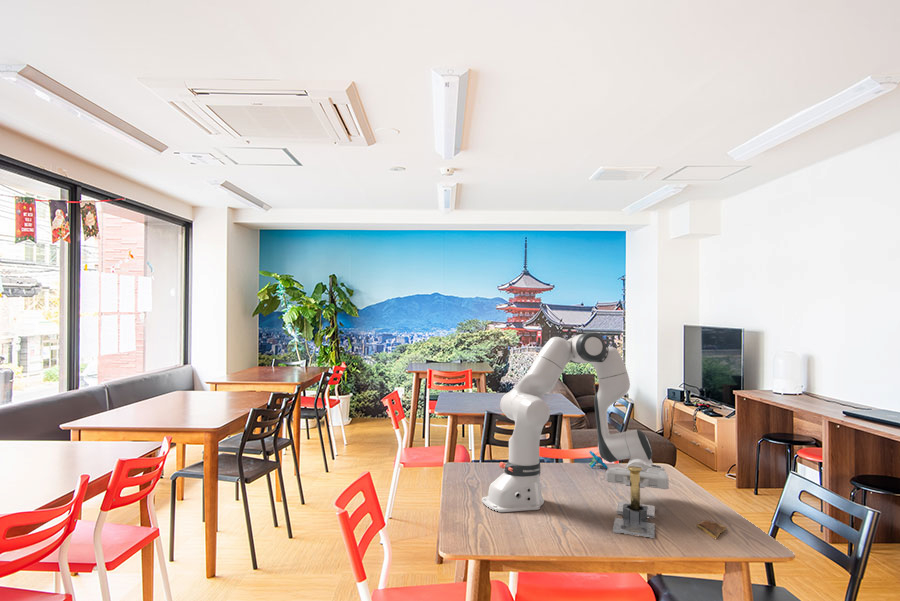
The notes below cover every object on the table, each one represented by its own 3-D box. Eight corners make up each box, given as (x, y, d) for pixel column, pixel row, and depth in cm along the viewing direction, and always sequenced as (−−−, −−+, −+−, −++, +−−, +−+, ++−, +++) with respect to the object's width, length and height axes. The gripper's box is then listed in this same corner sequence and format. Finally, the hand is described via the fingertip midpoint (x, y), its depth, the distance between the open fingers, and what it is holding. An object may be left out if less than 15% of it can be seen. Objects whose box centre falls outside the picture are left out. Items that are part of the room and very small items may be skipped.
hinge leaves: (654, 538, 152) (654, 525, 152) (612, 532, 156) (612, 519, 157) (654, 508, 177) (654, 497, 177) (618, 504, 181) (618, 492, 182)
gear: (611, 467, 222) (594, 450, 224) (602, 477, 221) (585, 460, 223) (604, 464, 233) (588, 448, 235) (595, 473, 232) (579, 457, 234)
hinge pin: (635, 511, 164) (634, 470, 165) (625, 506, 168) (624, 466, 169) (645, 509, 166) (644, 468, 166) (635, 504, 170) (635, 465, 170)
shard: (716, 541, 151) (716, 535, 152) (689, 534, 157) (689, 528, 157) (727, 531, 159) (727, 525, 159) (701, 524, 165) (701, 518, 165)
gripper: (607, 461, 184) (602, 471, 171) (669, 467, 175) (667, 478, 162) (608, 478, 183) (602, 489, 171) (669, 486, 175) (668, 498, 162)
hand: (634, 484), depth 166 cm, fingers closed on hinge pin, 3 cm apart
